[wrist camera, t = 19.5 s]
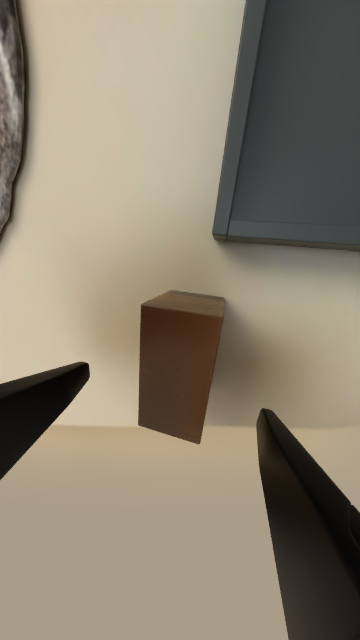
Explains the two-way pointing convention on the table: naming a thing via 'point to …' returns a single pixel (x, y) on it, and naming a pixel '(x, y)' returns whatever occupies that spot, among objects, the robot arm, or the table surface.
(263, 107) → the tray
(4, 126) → the ancient coin
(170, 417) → the brown rectangular block
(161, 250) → the table surface
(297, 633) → the robot arm
